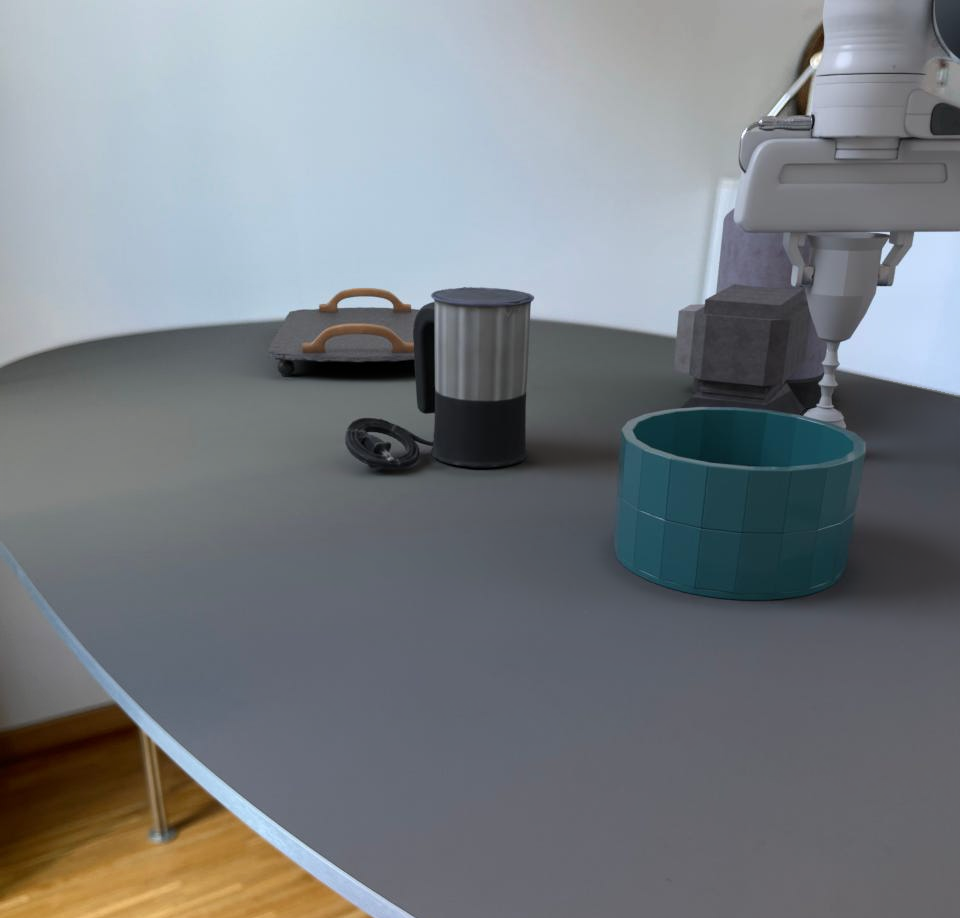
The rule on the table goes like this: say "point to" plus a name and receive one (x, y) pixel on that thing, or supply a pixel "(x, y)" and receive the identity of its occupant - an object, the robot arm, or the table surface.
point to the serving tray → (346, 332)
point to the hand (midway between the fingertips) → (841, 285)
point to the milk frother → (463, 382)
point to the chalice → (840, 298)
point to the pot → (736, 501)
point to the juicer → (752, 331)
